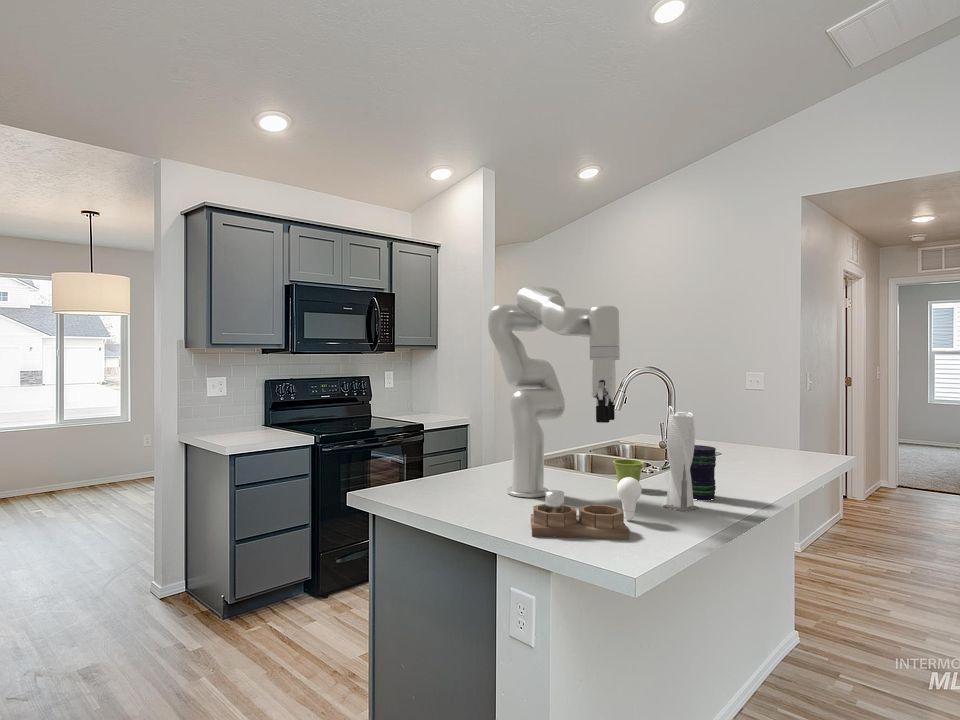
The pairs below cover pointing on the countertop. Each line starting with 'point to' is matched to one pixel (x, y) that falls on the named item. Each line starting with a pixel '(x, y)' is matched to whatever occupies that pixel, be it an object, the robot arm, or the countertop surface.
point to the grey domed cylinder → (554, 501)
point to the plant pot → (628, 468)
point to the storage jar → (703, 472)
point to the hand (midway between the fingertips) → (605, 421)
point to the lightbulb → (629, 495)
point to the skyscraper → (680, 460)
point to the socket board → (580, 522)
